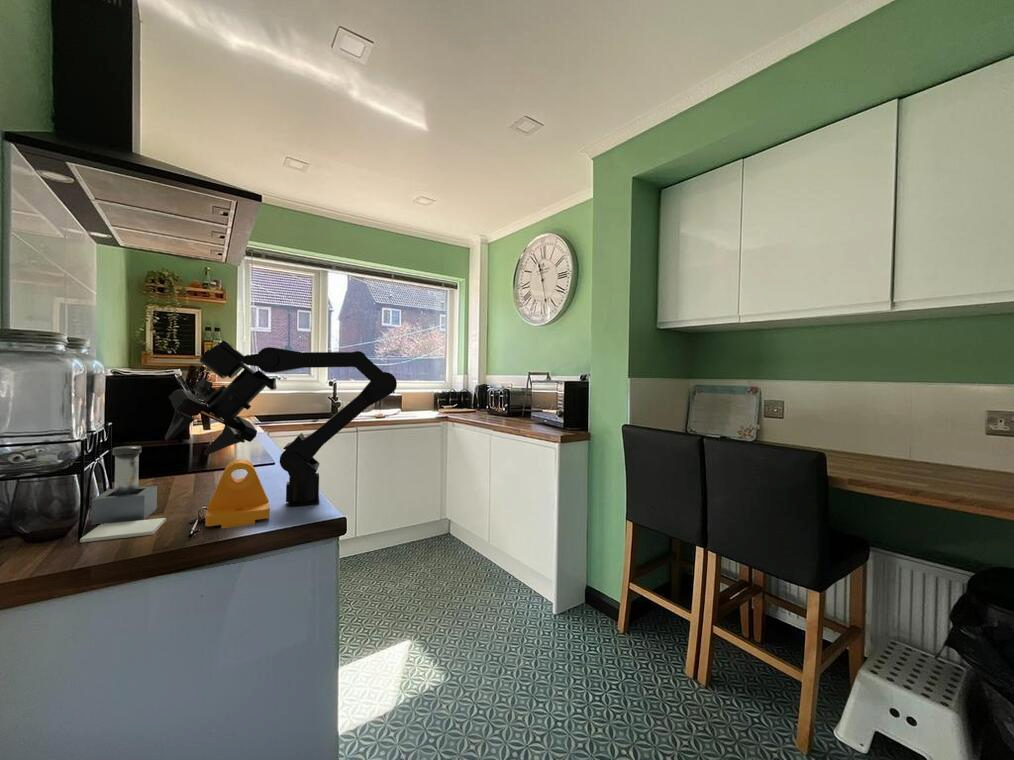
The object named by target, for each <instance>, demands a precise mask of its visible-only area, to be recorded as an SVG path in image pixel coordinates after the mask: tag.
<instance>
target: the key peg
mask: <svg viewBox="0 0 1014 760" xmlns="http://www.w3.org/2000/svg"><path fill="white" fill-rule="evenodd" d="M141 453H142V446H141V445H126V446H116V447H113V448H112V456H114V489H115V494H114V496H121V495H134V494H138V487H139V468H140V467H139V466H140V465H139V464H140V463H139V462H140V460H139V459H140V457H139V456H140V454H141Z"/></svg>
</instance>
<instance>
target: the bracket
mask: <svg viewBox="0 0 1014 760" xmlns="http://www.w3.org/2000/svg"><path fill="white" fill-rule="evenodd" d="M240 469H242V470H245V471H246V472H247V474H246V476H244V477H243V478H234V477H233V476H232V473H233V472H235V471H236V470H240ZM270 509H271V506H270V503H269V498H268V496H267V494H266V492H265V489H264V488H263V485H262V483H261V480H260V478H259V476H258V474H257V471H256V469H255V467H254V464H253V463H252V462H251V461H250V460H247V459H244V458H238V459H233V460H232V461H230V462H229V463H228V464H227V465H226V466H225V468H224V470H223V473H222V474H221V476H220V479H219V481H218V484H217V486H216V488H215V490H214V492H213V494H212V496H211V499H210V501H209V503H208V505H207V508H206V513H205V518H204V519H205V520H204V521H205V522H204V523H205V527H214V526H220V527H221V529H227V528H228V529H229V528H234V527H235V528H236V527H242V526H247V525H255V524H256V520H264V519H268V518H270V513H271V512H270V511H271V510H270Z"/></svg>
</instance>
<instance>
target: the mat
mask: <svg viewBox="0 0 1014 760" xmlns="http://www.w3.org/2000/svg"><path fill="white" fill-rule="evenodd" d="M166 521H167V518H166V517H161V518H159V517H158V518H150V519H145V520H139V521H128V522H118V523H108V524H100V525H97V526H96V527H94V528H93V529H92V530H91V531H89V532H87V534H85V535H84V536H83V537H81V538H80V539H79V543H87V542H98V541H106V540H115V539H116V540H117V539H123V538H125V539H126V538H133V537H141V536H142V537H143V536H151V535H154V534H155V533H156V532H157V531H158V530H159V528H161V527H162V526H163V525H164V524H165V522H166Z"/></svg>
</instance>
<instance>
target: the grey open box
mask: <svg viewBox="0 0 1014 760" xmlns="http://www.w3.org/2000/svg"><path fill="white" fill-rule="evenodd" d="M114 494H115V488H109V489H107V490H105V491H104V492H102V493H100V494H98V495H97V496H95V497H93V498H92V499H91V515H90V516H91V517H90V518H91V519H90V522H91V523H90V524H91V525H90V526H96V524H104V523H118V522H128V521H139V520H147V518H149V517H150V516H151V515H152V514H153V513H154V512H155V511H156V510H157V509H158V507H157V506H158V503H157V502H158V485H151V486H138V494H134V495H121V496H114Z"/></svg>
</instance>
